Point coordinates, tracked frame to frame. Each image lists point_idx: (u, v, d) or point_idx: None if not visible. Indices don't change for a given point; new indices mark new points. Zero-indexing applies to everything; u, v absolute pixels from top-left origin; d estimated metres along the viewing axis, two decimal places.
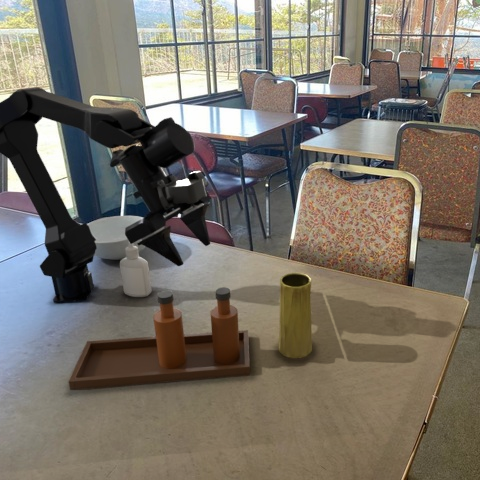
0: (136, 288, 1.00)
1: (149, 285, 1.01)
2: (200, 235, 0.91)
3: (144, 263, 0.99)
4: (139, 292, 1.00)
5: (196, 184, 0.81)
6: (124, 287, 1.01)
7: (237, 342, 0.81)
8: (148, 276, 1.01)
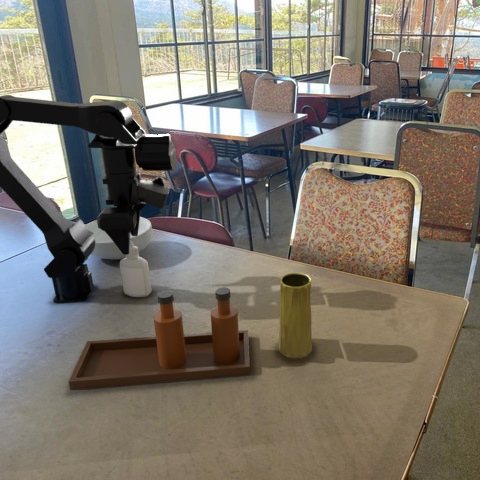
0: (136, 288, 1.00)
1: (149, 285, 1.01)
2: None
3: (144, 263, 0.99)
4: (139, 292, 1.00)
5: (168, 193, 0.94)
6: (124, 287, 1.01)
7: (237, 342, 0.81)
8: (148, 276, 1.01)
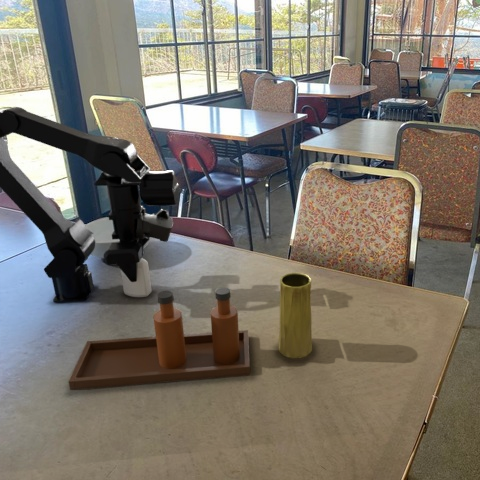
0: (136, 288, 1.00)
1: (149, 285, 1.01)
2: None
3: (144, 263, 0.99)
4: (139, 292, 1.00)
5: None
6: (124, 287, 1.01)
7: (237, 342, 0.81)
8: (148, 276, 1.01)
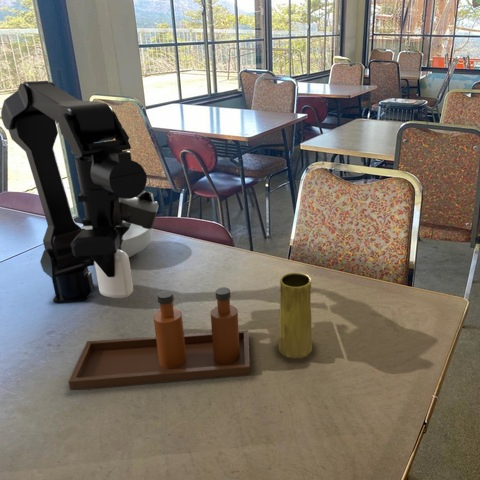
0: (115, 287, 0.83)
1: (130, 283, 0.84)
2: None
3: (124, 256, 0.82)
4: (117, 292, 0.83)
5: None
6: (100, 286, 0.84)
7: (237, 342, 0.81)
8: (129, 272, 0.83)
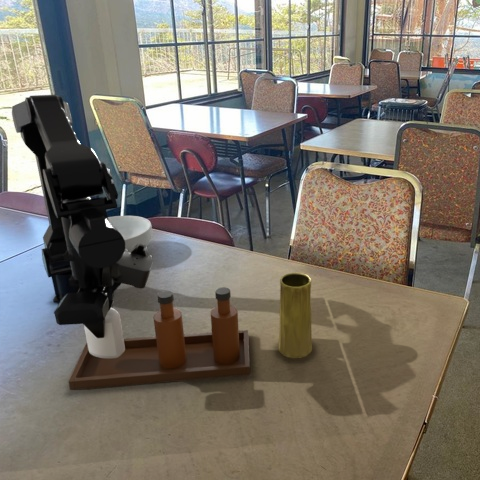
0: (104, 347, 0.76)
1: (122, 343, 0.78)
2: None
3: (114, 315, 0.75)
4: (108, 353, 0.77)
5: (150, 268, 0.74)
6: (89, 345, 0.77)
7: (237, 342, 0.81)
8: (120, 332, 0.77)
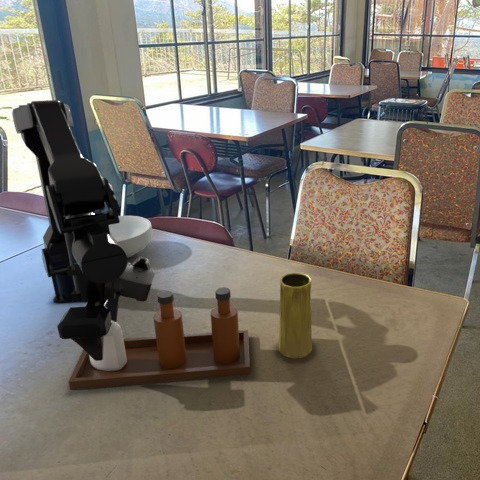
0: (107, 360, 0.77)
1: (124, 355, 0.79)
2: None
3: (116, 329, 0.76)
4: (110, 366, 0.78)
5: None
6: (91, 358, 0.78)
7: (237, 342, 0.81)
8: (122, 344, 0.78)
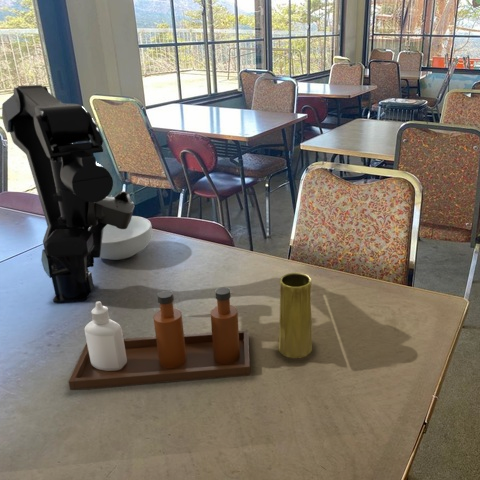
0: (107, 360, 0.77)
1: (124, 355, 0.79)
2: (92, 246, 0.88)
3: (116, 329, 0.76)
4: (110, 365, 0.78)
5: (131, 211, 0.81)
6: (91, 358, 0.78)
7: (237, 342, 0.81)
8: (122, 344, 0.78)
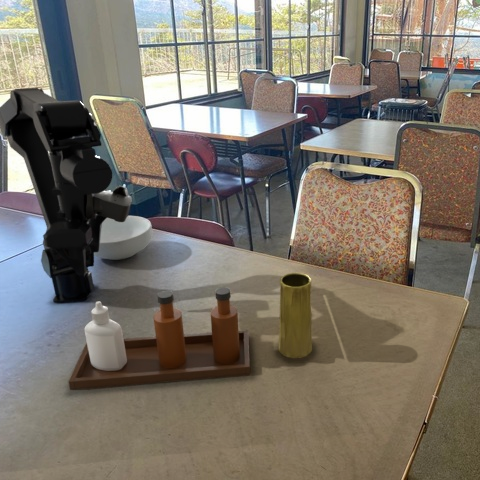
0: (107, 360, 0.77)
1: (124, 355, 0.79)
2: (91, 241, 0.90)
3: (116, 329, 0.76)
4: (110, 365, 0.78)
5: (129, 205, 0.83)
6: (91, 358, 0.78)
7: (237, 342, 0.81)
8: (122, 344, 0.78)
